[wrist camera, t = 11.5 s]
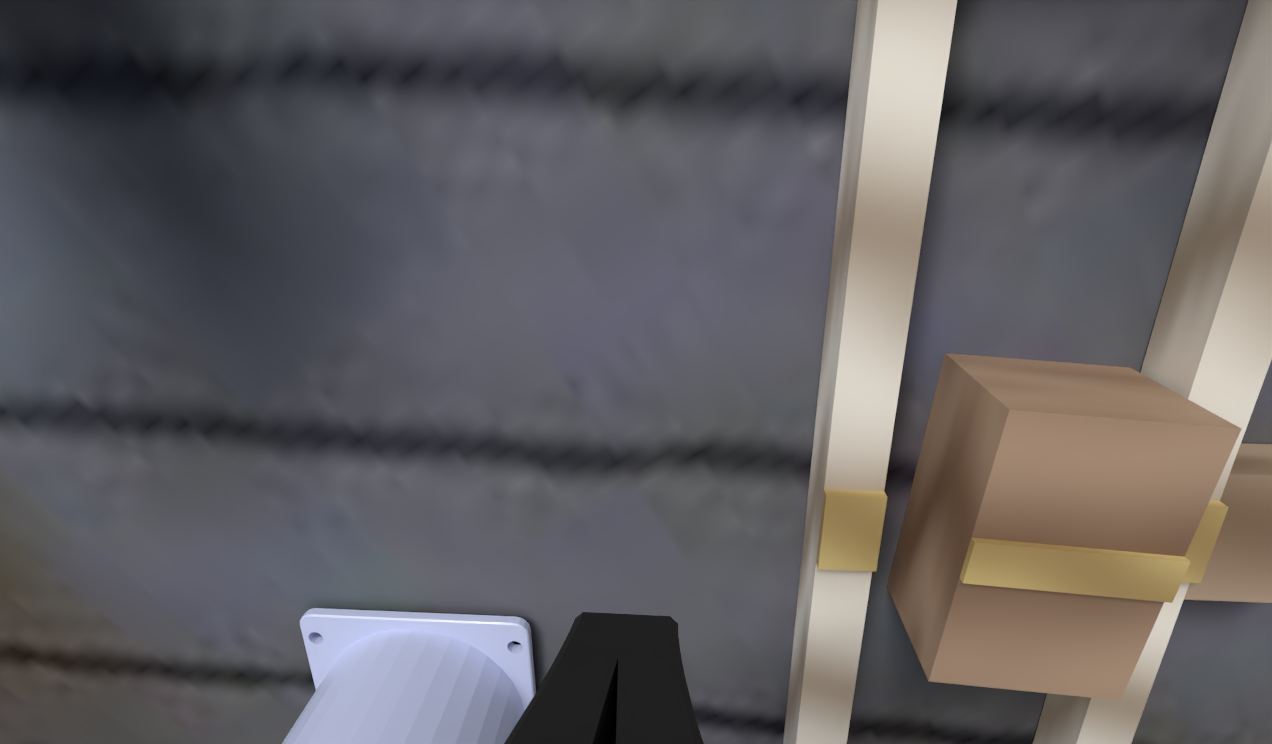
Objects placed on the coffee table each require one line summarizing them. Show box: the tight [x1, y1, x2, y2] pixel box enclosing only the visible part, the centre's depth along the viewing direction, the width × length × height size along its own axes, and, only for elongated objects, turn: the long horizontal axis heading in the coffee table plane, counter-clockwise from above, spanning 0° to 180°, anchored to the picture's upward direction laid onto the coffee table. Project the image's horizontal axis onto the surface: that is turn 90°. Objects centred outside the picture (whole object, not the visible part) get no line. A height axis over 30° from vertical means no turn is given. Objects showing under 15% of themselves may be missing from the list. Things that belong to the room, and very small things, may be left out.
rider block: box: [887, 353, 1241, 700], centre depth 18 cm, size 8×5×4 cm, turn 176°
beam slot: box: [783, 0, 1272, 744], centre depth 18 cm, size 32×13×2 cm, turn 0°
